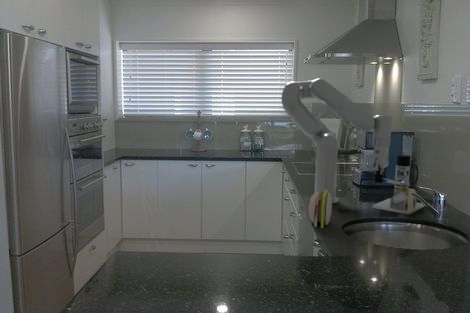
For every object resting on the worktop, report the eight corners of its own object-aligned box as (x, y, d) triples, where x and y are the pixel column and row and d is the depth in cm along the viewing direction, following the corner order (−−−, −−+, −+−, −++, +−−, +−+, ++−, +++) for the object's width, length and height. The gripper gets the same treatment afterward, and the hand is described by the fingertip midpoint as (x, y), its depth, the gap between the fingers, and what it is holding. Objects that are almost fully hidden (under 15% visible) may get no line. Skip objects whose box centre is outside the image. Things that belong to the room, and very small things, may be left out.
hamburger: (310, 218, 171) (311, 188, 170) (331, 220, 169) (333, 190, 167) (306, 226, 160) (307, 194, 158) (329, 228, 157) (330, 196, 156)
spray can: (391, 194, 220) (394, 155, 218) (397, 192, 225) (400, 154, 223) (404, 196, 216) (407, 156, 213) (410, 194, 221) (413, 155, 218)
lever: (410, 185, 190) (411, 182, 190) (406, 186, 188) (407, 183, 188) (378, 180, 202) (378, 177, 202) (373, 181, 199) (374, 177, 199)
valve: (409, 214, 180) (411, 191, 179) (372, 207, 190) (373, 186, 189) (424, 206, 195) (426, 185, 194) (389, 200, 206) (390, 180, 204)
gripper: (385, 144, 186) (382, 186, 188) (394, 141, 198) (391, 181, 200) (367, 142, 190) (365, 183, 192) (377, 140, 202) (375, 179, 204)
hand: (378, 182), depth 196 cm, fingers closed
